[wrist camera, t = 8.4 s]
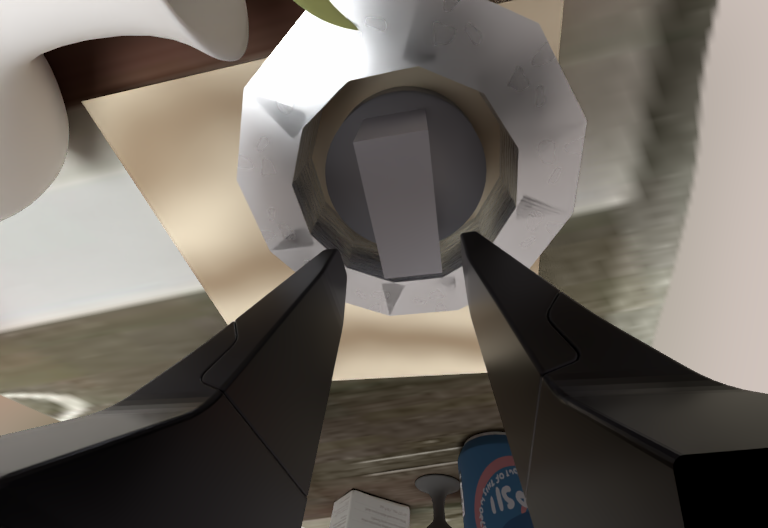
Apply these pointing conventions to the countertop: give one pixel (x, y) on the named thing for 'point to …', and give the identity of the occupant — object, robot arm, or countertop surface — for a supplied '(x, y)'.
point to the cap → (406, 175)
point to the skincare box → (368, 512)
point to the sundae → (438, 494)
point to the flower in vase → (80, 23)
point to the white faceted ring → (444, 57)
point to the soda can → (491, 484)
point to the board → (237, 224)
